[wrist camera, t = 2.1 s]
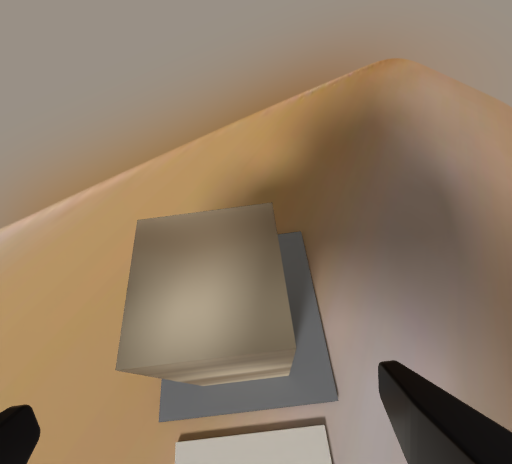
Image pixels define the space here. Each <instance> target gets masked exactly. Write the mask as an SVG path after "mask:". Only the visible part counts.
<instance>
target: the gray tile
mask: <svg viewBox="0 0 512 464" xmlns="http://www.w3.org/2000/svg"><path fill="white" fill-rule="evenodd" d="M277 235H278V241H279V247H280V253H281V259H282V265H283V271H284V277H285V283H286V289H287V295H288V301H289V307H290V313H291V319H292V325H293V331H294V337H295V343H296V351H295V355H294V359H293V362H292V366H291V369H290V373H289V376H283V377H275V378H266V379H258V380H250V381H242V382H233V383H225V384H217V385H209V386H200V385H194V384H188V383H183V382H177V381H172V380H166V379H162V382H161V397H160V412H159V422H166V421H174V420H182V419H191V418H199V417H207V416H216V415H224V414H232V413H241V412H249V411H257V410H266V409H274V408H282V407H291V406H299V405H307V404H316V403H324V402H332V401H338V397H337V392H336V388H335V383H334V379H333V374H332V370H331V365H330V361H329V356H328V352H327V347H326V342H325V338H324V333H323V329H322V324H321V320H320V315H319V311H318V306H317V302H316V297H315V292H314V288H313V283H312V279H311V274H310V270H309V265H308V261H307V256H306V252H305V247H304V243H303V238H302V233H301V232H293V233H285V234H277Z"/></svg>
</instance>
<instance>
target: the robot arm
mask: <svg viewBox="0 0 512 464" xmlns="http://www.w3.org/2000/svg"><path fill="white" fill-rule="evenodd" d="M378 379H379V393H380V397H381V400H382V402H383V405H384V407H385V410H386V412H387V415H388V417H389V419H390V422H391V424H392V427H393V429H394V432H395V434H396V436H397V439H398V441H399V444H400V446H401V449H402V451H403V453H404V456H405V458H406V461H407V463H408V464H512V432H510V431H509V430H507V429H506V428H504V427H502V426H501V425H499V424H498V423H496V422H494V421H493V420H491V419H489V418H488V417H486V416H485V415H483V414H481V413H480V412H478V411H477V410H475V409H473V408H472V407H470V406H469V405H467V404H465V403H464V402H462V401H460V400H459V399H457V398H456V397H454V396H452V395H451V394H449V393H448V392H446V391H444V390H443V389H441V388H440V387H438V386H436V385H435V384H433V383H432V382H430V381H428V380H427V379H425V378H423V377H422V376H420V375H419V374H417V373H415V372H414V371H412V370H411V369H409V368H407V367H406V366H404V365H403V364H401V363H399V362H397V361H394V360H392V361H384V362H380V363H379V366H378ZM39 437H40V427H39V425H38V422H37V419H36V417H35V414H34V412H33V409H32V408H31V406H29V405H18V406H12V407H9V408H7V409H6V410H4V411H3V412H1V413H0V464H27V462H28V460H29V458H30V456H31V454H32V452H33V450H34V448H35V446H36V444H37V442H38V440H39Z"/></svg>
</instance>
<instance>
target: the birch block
mask: <svg viewBox="0 0 512 464" xmlns="http://www.w3.org/2000/svg"><path fill="white" fill-rule="evenodd" d="M295 351H296V343H295V337H294V331H293V325H292V319H291V313H290V307H289V301H288V295H287V289H286V283H285V277H284V271H283V265H282V259H281V253H280V247H279V241H278V235H277V229H276V223H275V217H274V211H273V205H272V203H264V204H257V205H249V206H241V207H234V208H226V209H218V210H211V211H203V212H196V213H188V214H180V215H173V216H165V217H157V218H150V219H142V220H137V226H136V233H135V240H134V247H133V253H132V260H131V267H130V274H129V281H128V288H127V295H126V301H125V308H124V315H123V322H122V329H121V336H120V342H119V349H118V356H117V363H116V370H117V371H122V372H128V373H133V374H139V375H144V376H150V377H155V378H161V379H166V380H172V381H177V382H183V383H188V384H194V385H200V386H209V385H217V384H225V383H233V382H242V381H250V380H258V379H266V378H275V377H283V376H289V373H290V369H291V366H292V362H293V359H294V355H295Z"/></svg>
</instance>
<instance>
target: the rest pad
mask: <svg viewBox="0 0 512 464" xmlns="http://www.w3.org/2000/svg"><path fill="white" fill-rule="evenodd" d="M175 464H332V462H331V457H330V451H329V446H328V441H327V436H326V430H325V425H316V426H307V427H299V428H290V429H282V430H273V431H265V432H257V433H248V434H240V435H231V436H223V437H214V438H206V439H198V440H189V441H181V442H176V450H175Z"/></svg>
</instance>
